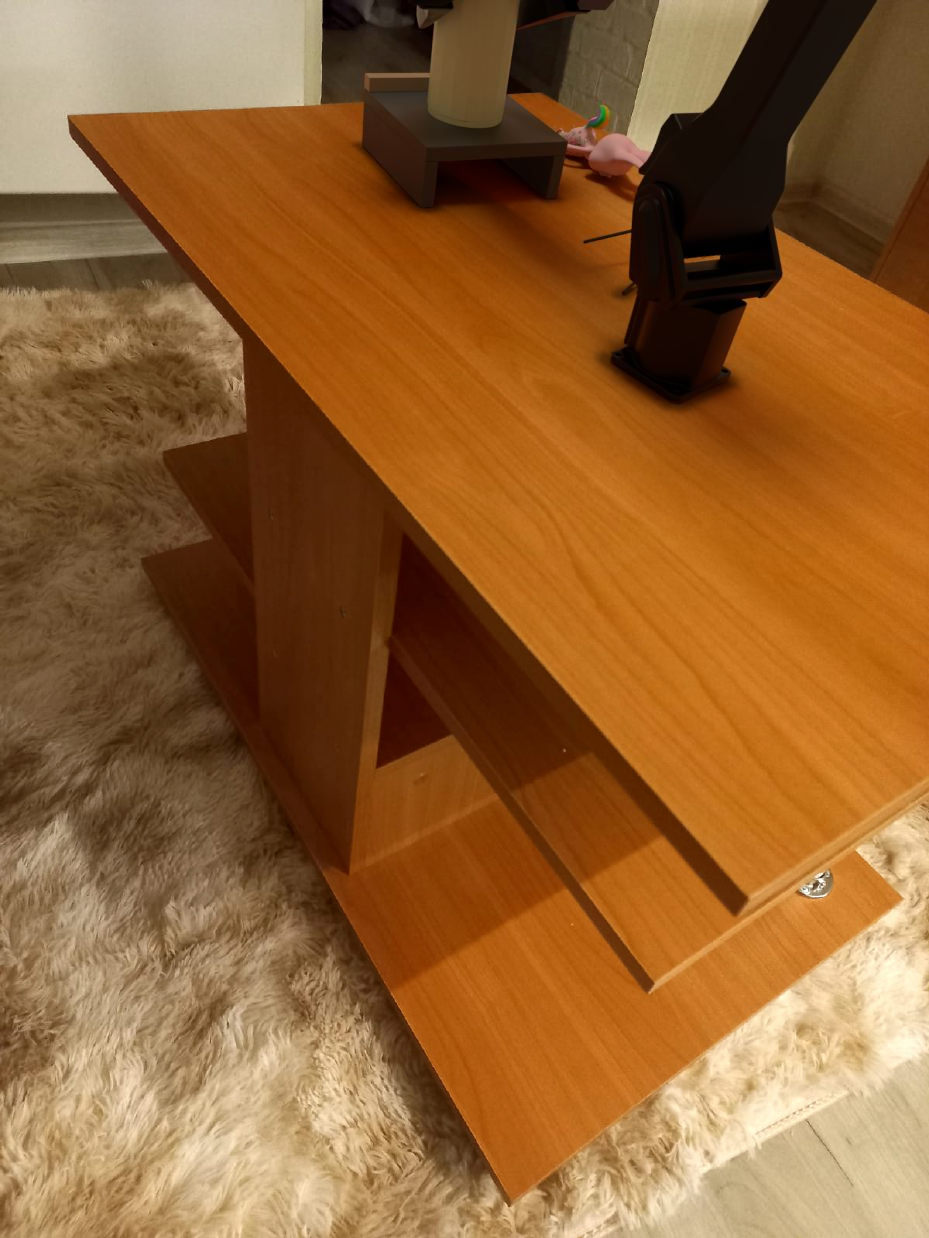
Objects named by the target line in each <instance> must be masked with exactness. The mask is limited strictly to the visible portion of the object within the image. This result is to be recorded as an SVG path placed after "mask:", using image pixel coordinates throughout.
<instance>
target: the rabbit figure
mask: <svg viewBox="0 0 929 1238" xmlns="http://www.w3.org/2000/svg"><path fill="white" fill-rule="evenodd" d="M598 107H599V114H598V115H597V116H594V117H592V118H591V119H589V121H588V122H587V123H586V124H585V125H584V126H578V127H575V124H572V126H573V128H571V129H570V130H569V131H568V132H567V131H565V130H564V129H563V128H562V127H559V128H558V129H557V127H556V126H555V125H554V126H553V128H554V129H553V130H554V131H555V132H557V133H558V134H559V135H561V136H562V137H563V138H565V139H566V140H567V141H568V146H567V150H566V155H565V156H571V157H572V156H573V157H576V158H583V157H584V158H585V160H587V162H588V165H589V167H590V168H591V169H592V170H593V171H595V172H597V173H598V174H599V176H601V177H604V176H605V177H606V178H608V179H609V178H612V176H622V175H623V176H624V175H625V174H627V173H629V171H631V170H632V168H633V167H635V168H637V169H638V170H639V168H640V167H641V166H642V165H643V164H644V163H645V162H646V161H647V159H648V157H649V156H650V154H651V153H652V151H649V150H645V149H640V148H638V146H637V144H636V143H635V142H634V141H633V140H632V139H631V138H630V137H628V136H626V135H625V134H622V133H610V134H607V135H605V136H604V137H602V138H601V139H600V140H599V141H598V142H597V133H596V131H595V130H598V131H599V130H604V129H606V128H607V127H608V126H609V125H610V122H611V120H612V115H611V111H610V109H609V108H608V107H607V106H606V105H604V104H600V105H598Z"/></svg>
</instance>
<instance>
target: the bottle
mask: <svg viewBox="0 0 929 1238" xmlns="http://www.w3.org/2000/svg"><path fill="white" fill-rule="evenodd" d="M452 2H453V6H454V8H453V10H451V11H450V12H448V13H447V14H446V15H444V16H443V17H441V18H440V19H438V20H437V21H436V22H434V23H433V35H432V47H431V57H430V69H429V73H430V78H429V89H428V101H427V103H428V112H429V113H430V114H431V115H432V116H433V117H434V118H436V119H438V120H440V121H442V122H445V123H448V124H451V125H455V126H460V127H466V128H489V127H494V126H496V125H498V124H500V122H501V120H502V115H503V111H504V105H505V98H506V94H507V91H508V84H509V79H510V78H509V76H510V71H511V70H510V69H511V63H512V58H513V49H514V44H515V43H514V42H515V37H516V31H517V30H516V24H517V17H518V10H519V3H520V0H454V1H452Z"/></svg>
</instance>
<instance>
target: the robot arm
mask: <svg viewBox="0 0 929 1238" xmlns="http://www.w3.org/2000/svg"><path fill="white" fill-rule="evenodd" d="M406 1H407V2H408V3H409V4H410V5H412V6H416V20H417V25H418V28H419V29H421V30H422V29H423V30H424V29H426V28H428V27H429V26H431V25H434V22H436V21H437V20H438V19H440V18H441V17H443V16H444V15H446V14H447V13H448V12H450V11H451V10H453V8H454V6H453V2H452V1H454V0H406ZM614 1H615V0H520V3H519V10H518V17H517V24H516V30H515V31H519V30H523V29H526V28H530V27H533V26H538V25H541V24H544V23H548V22H552V21H556V20H560V19H565V18H569V17H570V18H571V17H574V16H578V15H587V14H589V13H591V11H606V10H607V9H608V8H609V7H610V6H611V5H612V4H613V3H614ZM877 2H878V0H767V1H766V4H765V6H764V8H763V9H762V11H761V13H760V14H759V17H758V19H757V21H756V22H755V25H754V27H753V28H752V31H751V32H750V34H749V36H748V38H747V40H746V42H745V44H744V46H743V47H742V49H741V51H740V53H739V55H738V57H737V59H736V61H735V62H734V65H733V66H732V68H731V70H730V72H729V74H728V76H727V78H726V80H725V82H724V84H723V85H722V87H721V89H720V90H719V93H718V95H717V96H716V98H715V99H714V101H713V103H712V104H711V105H710V106H709V107H708V108H706V109H705V110H704V111H703V112H702V111H701V112H673V113H670V115H669V116H668V117H667V118H666V120H665V121H664V122H663V124H662V125H661V126H660V128H659V131H658V135H657V137H656V139H655V140H656V141H655V143H654V146H653V148H652V151H651V152H652V153H651V154H650V156H649V157H648V159H647V161H646V162H645V163H644V164H643V165H642V166H641V167H640V168H639V169H638V175H641V176H643V177H642V179H641V180H640V182H639V184H638V186H637V189H636V192H635V194H634V199H633V204H632V211H631V228H630V229H631V233H630V245H629V264H628V279H629V281H631V283H632V282H633V283H634V284H635V285H634V286H636V289H637V290H636V296H635V299H634V303H633V307H632V309H631V313H630V316H629V319H628V324H627V326H626V331H625V334H624V337H623V344H624V345H626V346H623V347H621V348H618V349H616V350H614V351H612V352H611V355H610V358H609V360H611V362H613V363H614V364H616V365H617V366H618V367H620V368H622V369H623V370H625V371H627V373H629V374H631V375H633V377H635V378H637V379H638V380H640V381H641V382H643V383H644V384H646V385H647V386H649V387H650V388H652V389H654V390H655V391H657V392H658V393H659V394H660V395H662V396H664V397H665V398H666V399H668V400H670V401H672V402H675V403H680V402H682V401H684V400H686V399H689V398H691V397H693V396H696V395H697V394H700V393H702V392H704V391H706V390H708V389H711V388H712V387H715V386H717V385H719V384H722V383H723V382H725V381H728V380H730V378H731V375H732V370H730V369H729V368H728V367H726V366H724V364H725V362H726V359H727V358H728V354H729V353H730V348H731V346H732V344H733V341H734V339H735V336H736V334H737V331H738V329H739V326H740V324H741V321H742V319H743V316H744V314H745V311H746V308H747V306H748V302H747V301H745V300H748V299H755V298H756V299H765V298H767V297H768V296H769V295H770V294H771V292H773V290H774V288H775V287H776V286H777V285H778V284H779V282H780V281H781V280H782V278H783V274H784V273H783V267H782V261H781V256H780V250H779V247H778V240H777V235H776V229H775V223H774V218H773V214H774V212H775V210H776V208H777V206H778V204H779V202H780V199H781V198H782V196H783V193H784V192H785V189H786V186H787V176H788V175H787V173H788V158H789V157H788V156H789V143H790V141H791V140H792V137H793V136H794V134H795V133H796V130H797V129H798V127H799V126H800V124H801V122H802V121H803V120H804V118H805V116H806V115H807V114H808V111H809V110H810V109H811V107H812V105H813V104H814V102H815V100H816V99H817V97H818V96H819V94H820V93H821V91H822V90H823V88H824V86H825V84H827V82H828V80H829V79H830V77H831V75H832V74H833V72H834V70H835V69H836V67H837V66H838V64H839V63H840V61H841V60H842V58H843V56H844V55H845V53H846V52H847V49H848V48H849V47H850V45H851V44H852V42H853V40H854V39H855V37H856V35H857V34H858V32H859V31H860V29H861V27H862V26H863V24H864V23H865V21H866V19H867V18H868V16H869V15H870V13H871V11H872V10H873V8H875V5H876V4H877ZM714 256H716V257H717V256H719V258H718V259H717V258H716V259H709V260H699V261H692V262H685V260H687V259H688V260H689V259H698V258H705V257H714Z"/></svg>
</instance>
